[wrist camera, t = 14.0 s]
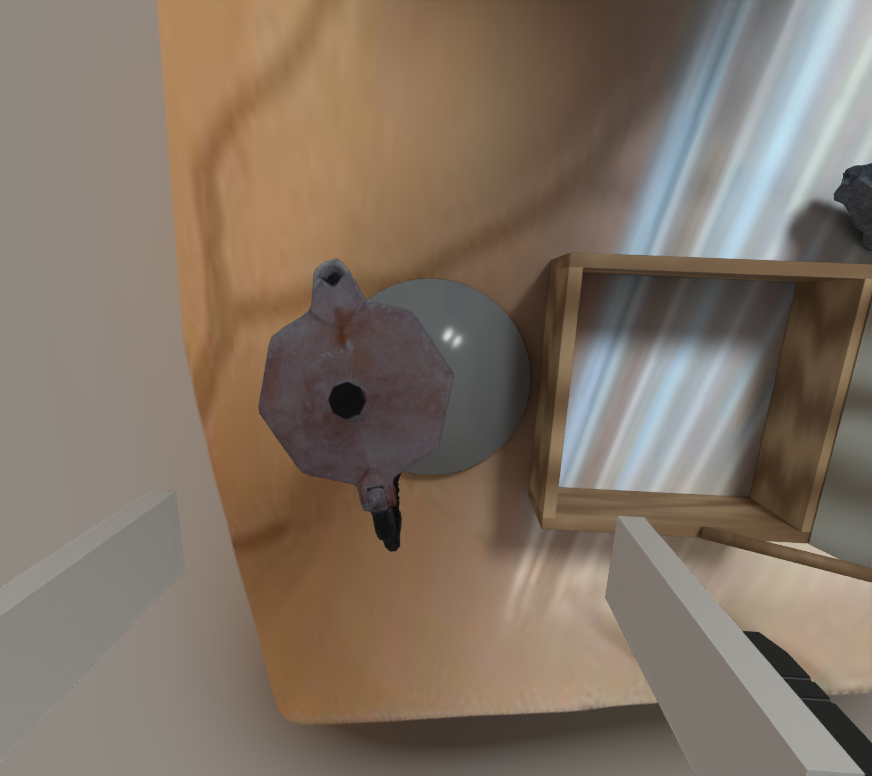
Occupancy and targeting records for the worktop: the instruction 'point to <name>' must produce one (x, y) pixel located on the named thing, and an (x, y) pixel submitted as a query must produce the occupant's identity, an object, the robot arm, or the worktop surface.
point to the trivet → (469, 369)
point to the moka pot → (356, 393)
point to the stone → (858, 199)
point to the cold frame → (784, 431)
